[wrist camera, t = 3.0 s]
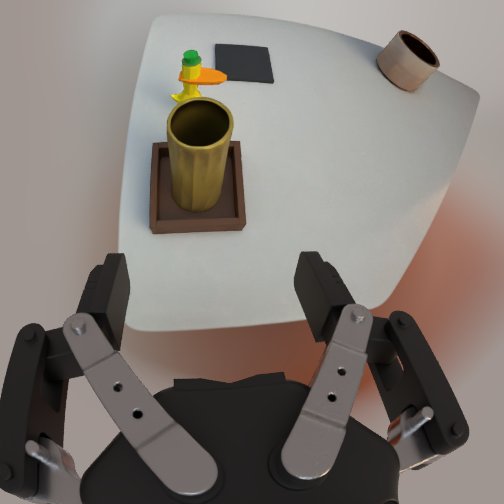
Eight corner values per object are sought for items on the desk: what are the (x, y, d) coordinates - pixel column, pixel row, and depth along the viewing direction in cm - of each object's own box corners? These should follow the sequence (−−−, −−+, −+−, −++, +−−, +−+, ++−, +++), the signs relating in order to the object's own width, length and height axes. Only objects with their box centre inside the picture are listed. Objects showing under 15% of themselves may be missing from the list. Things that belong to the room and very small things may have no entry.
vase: (170, 212, 33) (156, 155, 19) (172, 166, 34) (165, 92, 20) (221, 212, 34) (240, 156, 20) (221, 166, 35) (239, 94, 21)
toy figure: (220, 108, 37) (232, 47, 26) (218, 128, 37) (229, 67, 25) (173, 105, 36) (171, 43, 24) (169, 125, 35) (164, 63, 24)
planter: (384, 85, 46) (410, 57, 36) (369, 50, 47) (390, 23, 38) (422, 98, 48) (447, 75, 38) (405, 64, 49) (427, 40, 40)
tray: (153, 234, 33) (149, 227, 30) (155, 154, 34) (152, 142, 31) (241, 230, 35) (246, 224, 32) (236, 152, 36) (240, 140, 34)
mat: (215, 80, 38) (216, 78, 38) (215, 45, 39) (215, 43, 39) (273, 83, 40) (274, 81, 39) (267, 49, 41) (267, 47, 41)
